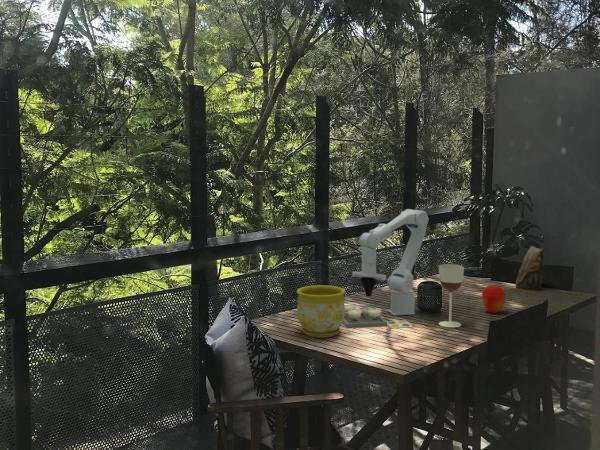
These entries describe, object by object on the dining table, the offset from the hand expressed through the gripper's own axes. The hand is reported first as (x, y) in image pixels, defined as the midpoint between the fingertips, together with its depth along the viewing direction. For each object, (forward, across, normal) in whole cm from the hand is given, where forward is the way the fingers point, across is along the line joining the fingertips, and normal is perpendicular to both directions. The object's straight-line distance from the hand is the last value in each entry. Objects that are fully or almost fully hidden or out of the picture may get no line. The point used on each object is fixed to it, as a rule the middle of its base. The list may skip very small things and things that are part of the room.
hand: (368, 295), depth 257 cm
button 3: (+9, 0, 0) cm, 9 cm away
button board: (+9, 0, -6) cm, 11 cm away
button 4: (+7, +6, -6) cm, 11 cm away
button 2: (+7, 0, -11) cm, 13 cm away
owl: (+10, +37, +94) cm, 101 cm away
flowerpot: (+10, -5, -28) cm, 30 cm away
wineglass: (+10, +30, +11) cm, 34 cm away
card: (+9, +14, -1) cm, 17 cm away
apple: (+10, +38, +38) cm, 55 cm away
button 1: (+7, -6, -6) cm, 11 cm away
